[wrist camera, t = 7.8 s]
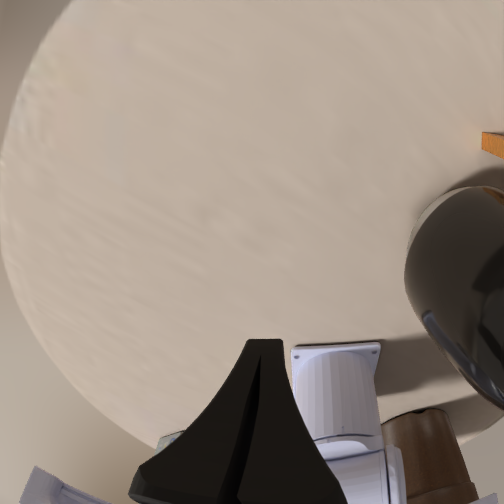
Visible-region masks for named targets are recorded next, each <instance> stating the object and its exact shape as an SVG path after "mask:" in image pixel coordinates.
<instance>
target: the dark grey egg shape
mask: <svg viewBox="0 0 504 504" xmlns="http://www.w3.org/2000/svg"><path fill="white" fill-rule="evenodd" d="M404 282H405V289H406V293H407V296H408V299H409V302H410V304H411V306H412V308H413V310H414V312H415V314H416V315H417V317H418V319H419V320H420V322H421V323H422V325H423V326H424V328H425V329H426V331H427V332H428V334H429V335H430V337H431V338H432V340H433V341H434V342H435V344H436V345H437V346H438V348H439V349H440V350H441V352H442V353H443V354H444V355H445V357H446V358H447V359H448V360H449V361H450V363H451V364H452V365H453V366H454V367H455V368H456V370H457V371H458V372H459V373H460V374H461V375H462V376H463V377H464V379H465V380H466V381H467V382H468V383H469V384H470V385H471V386H472V387H473V388H474V389H475V390H476V391H477V392H478V393H479V394H480V395H481V396H482V397H484V398H485V399H486V400H487V401H488V402H490V403H491V404H492V405H494V406H495V407H497V408H498V409H500V410H502V411H503V412H504V190H502V189H499V188H496V187H492V186H475V187H463V188H459V189H455V190H452V191H450V192H448V193H446V194H444V195H442V196H440V197H439V198H438V199H436V200H435V201H434V202H433V203H431V204H430V205H429V206H428V207H427V208H426V210H425V211H424V212H423V213H422V215H421V216H420V218H419V219H418V221H417V222H416V224H415V226H414V228H413V231H412V233H411V236H410V239H409V242H408V247H407V253H406V264H405V271H404Z"/></svg>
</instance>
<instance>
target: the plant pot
mask: <svg viewBox="0 0 504 504" xmlns="http://www.w3.org/2000/svg"><path fill="white" fill-rule="evenodd" d="M381 431H382V436H383V441H384V446H385V452H386V460H387V448H386V445H390V444H394V446H395V447H397V448H399V449H400V450H401V454H402V460H403V467H404V476H405V486H406V502H407V504H469V503H471V502H474V501H476V500H479V497H478V494H477V491H476V488H475V485H474V483H473V482H471V480H470V477H469V474H468V471H467V468H466V465H465V462H464V459H463V456H462V454H461V451H460V448H459V445H458V443H457V440H456V437H455V434H454V432H453V429H452V426H451V424H450V421H449V418H448V416H447V414H446V413H445V412H444V411H441V410H437V409H427V410H425V411H424V412H423V413H421V414H415V413H408V414H405V415H402V416H399V417H397V418H394V419H392V420H390V421H388V422H386V423H384V424H382V425H381ZM387 470H388V467H387Z"/></svg>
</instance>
